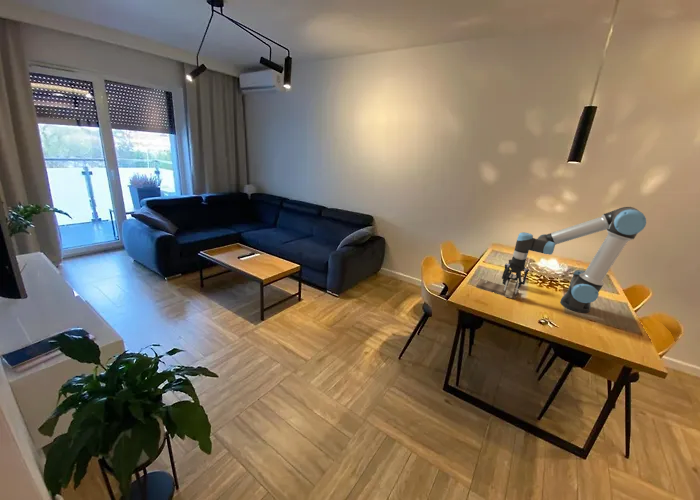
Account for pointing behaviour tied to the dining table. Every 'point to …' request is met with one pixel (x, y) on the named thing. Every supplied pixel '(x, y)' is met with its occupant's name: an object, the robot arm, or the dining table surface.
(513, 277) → the french press
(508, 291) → the block
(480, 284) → the board
